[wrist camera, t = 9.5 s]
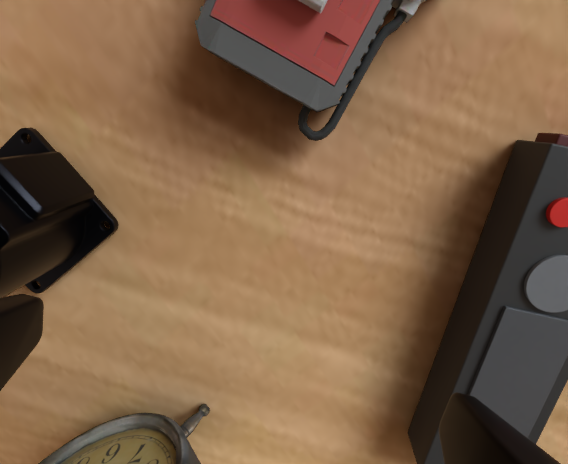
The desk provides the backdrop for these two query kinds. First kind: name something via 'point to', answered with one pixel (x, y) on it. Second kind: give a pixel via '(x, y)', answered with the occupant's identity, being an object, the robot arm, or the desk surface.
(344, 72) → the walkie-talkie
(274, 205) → the desk surface
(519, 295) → the remote
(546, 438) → the desk surface
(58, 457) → the alarm clock
